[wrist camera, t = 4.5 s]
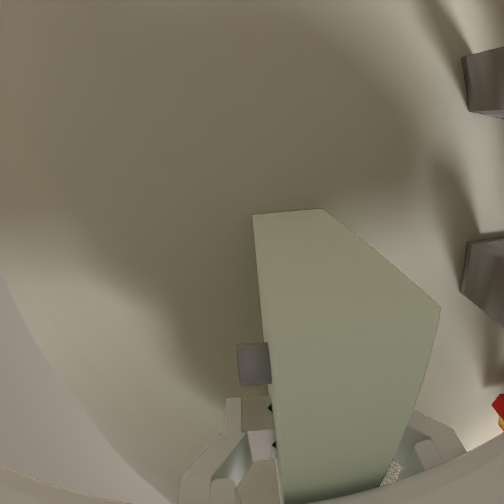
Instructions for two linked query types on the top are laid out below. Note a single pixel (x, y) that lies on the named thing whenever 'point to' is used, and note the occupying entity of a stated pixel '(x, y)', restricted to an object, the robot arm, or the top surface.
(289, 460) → the door
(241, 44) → the top surface
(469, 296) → the cabinet
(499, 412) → the mug
